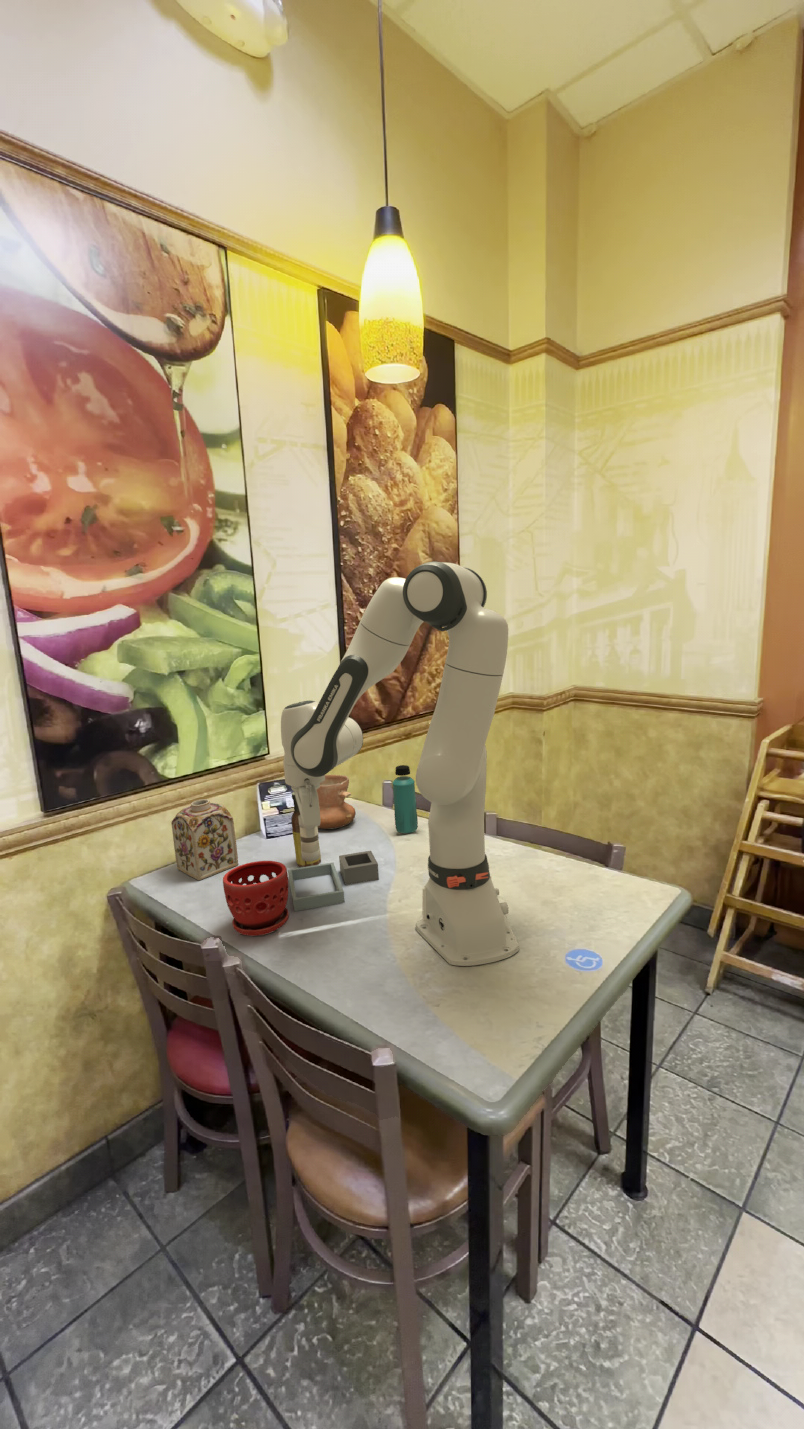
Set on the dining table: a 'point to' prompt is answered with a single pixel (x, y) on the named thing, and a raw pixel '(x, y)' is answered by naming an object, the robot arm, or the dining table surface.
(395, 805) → the beverage bottle
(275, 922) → the plant pot
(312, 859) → the cylinder
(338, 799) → the ceramic jug
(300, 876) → the parts tray
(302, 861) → the sauce bottle
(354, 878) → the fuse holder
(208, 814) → the decorative jar
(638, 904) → the dining table surface
